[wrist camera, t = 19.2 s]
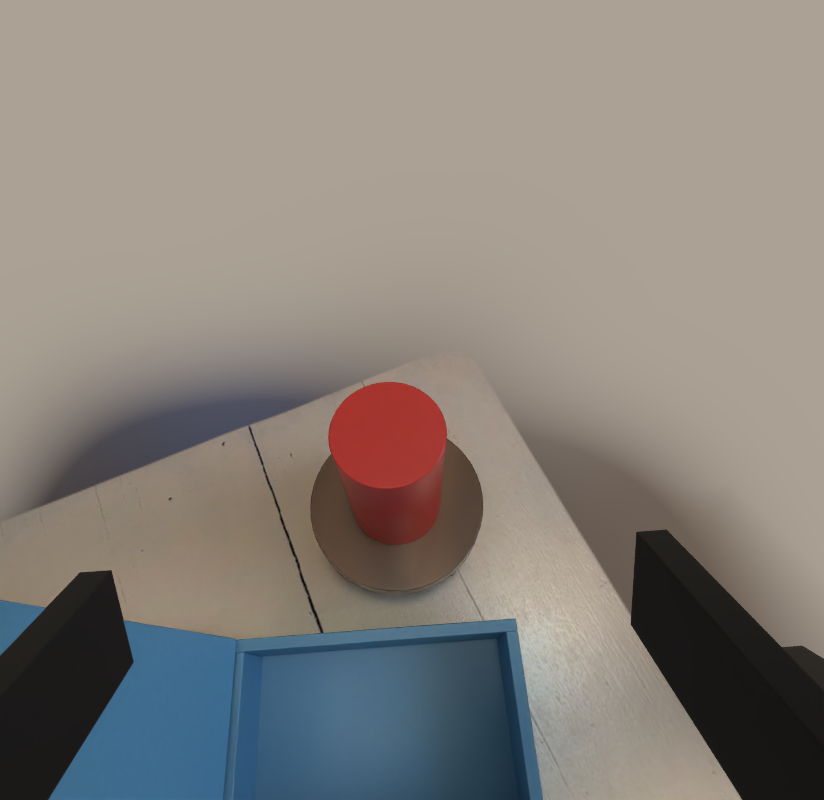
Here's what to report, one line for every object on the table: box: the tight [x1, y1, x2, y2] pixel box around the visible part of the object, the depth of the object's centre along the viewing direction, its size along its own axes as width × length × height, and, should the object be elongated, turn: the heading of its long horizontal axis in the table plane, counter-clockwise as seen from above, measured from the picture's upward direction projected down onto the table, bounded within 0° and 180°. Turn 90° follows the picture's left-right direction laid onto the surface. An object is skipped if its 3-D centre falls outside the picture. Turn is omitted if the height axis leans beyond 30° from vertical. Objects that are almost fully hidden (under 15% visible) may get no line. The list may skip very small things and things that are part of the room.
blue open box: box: [223, 619, 543, 800], centre depth 36 cm, size 20×13×6 cm, turn 94°
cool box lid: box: [0, 600, 236, 800], centre depth 25 cm, size 20×13×1 cm
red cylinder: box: [328, 382, 447, 545], centre depth 35 cm, size 7×7×12 cm
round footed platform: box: [310, 439, 483, 594], centre depth 43 cm, size 13×13×7 cm
